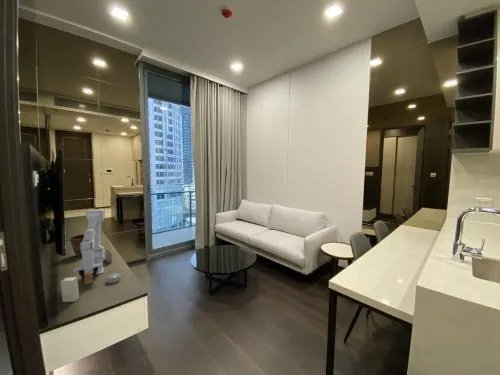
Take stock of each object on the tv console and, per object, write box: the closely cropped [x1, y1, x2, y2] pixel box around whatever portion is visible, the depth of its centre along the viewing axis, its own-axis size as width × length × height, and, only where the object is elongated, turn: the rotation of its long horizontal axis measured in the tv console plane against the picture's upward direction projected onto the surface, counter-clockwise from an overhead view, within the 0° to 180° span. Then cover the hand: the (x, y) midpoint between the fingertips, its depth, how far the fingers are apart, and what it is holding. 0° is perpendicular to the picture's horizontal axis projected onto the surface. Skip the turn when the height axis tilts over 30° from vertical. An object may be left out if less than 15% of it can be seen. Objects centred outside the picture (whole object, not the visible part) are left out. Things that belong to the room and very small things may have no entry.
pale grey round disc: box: [105, 273, 122, 285], centre depth 140 cm, size 8×8×3 cm
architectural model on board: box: [104, 249, 113, 264], centre depth 171 cm, size 11×3×10 cm, turn 42°
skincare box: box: [60, 276, 80, 303], centre depth 118 cm, size 6×4×12 cm
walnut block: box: [83, 272, 95, 286], centre depth 137 cm, size 4×4×6 cm
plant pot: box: [69, 233, 85, 257], centre depth 183 cm, size 15×15×16 cm
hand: (89, 280), depth 137 cm, fingers closed on walnut block, 4 cm apart
